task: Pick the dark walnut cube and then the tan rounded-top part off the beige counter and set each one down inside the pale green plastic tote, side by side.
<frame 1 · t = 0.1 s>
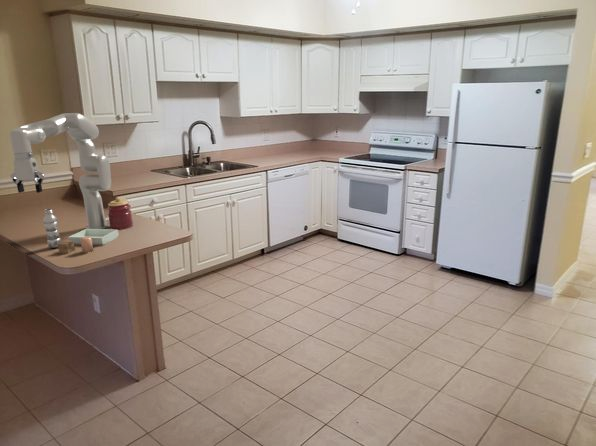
hand: (30, 192, 221), 31 cm above the countertop, fingers open, 9 cm apart
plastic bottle: (55, 247, 238), on the countertop
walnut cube: (67, 251, 231), on the countertop
tote: (94, 240, 247), on the countertop
canister: (121, 227, 272), on the countertop
tan rounded-top part: (88, 251, 230), on the countertop
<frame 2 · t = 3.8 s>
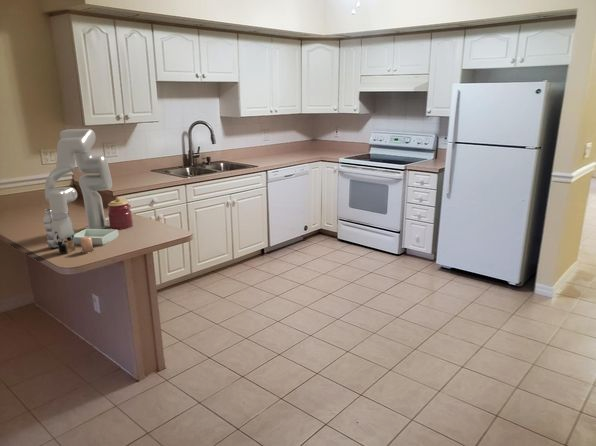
hand: (67, 250, 231), 0 cm above the countertop, fingers closed on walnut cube, 5 cm apart
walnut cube: (67, 251, 231), on the countertop, touching gripper
everything else where it was.
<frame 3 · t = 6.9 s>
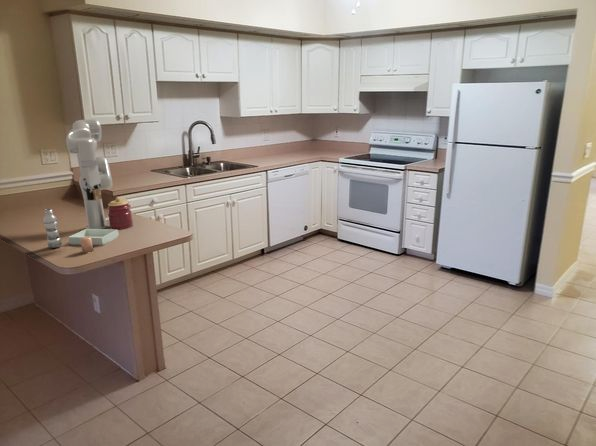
hand: (94, 198, 240), 23 cm above the countertop, fingers closed on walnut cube, 5 cm apart
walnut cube: (94, 199, 240), point 23 cm above the countertop, touching gripper
everything else where it was.
when the fingers open (3 cm above the countertop, at t = 10.3 s): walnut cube drops 2 cm, resting on tote.
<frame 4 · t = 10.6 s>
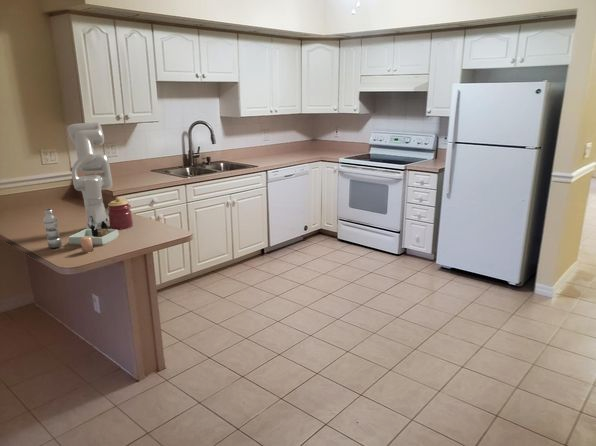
hand: (100, 233, 245), 4 cm above the countertop, fingers open, 7 cm apart
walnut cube: (101, 239, 246), point 1 cm above the countertop, touching tote
everything else where it was.
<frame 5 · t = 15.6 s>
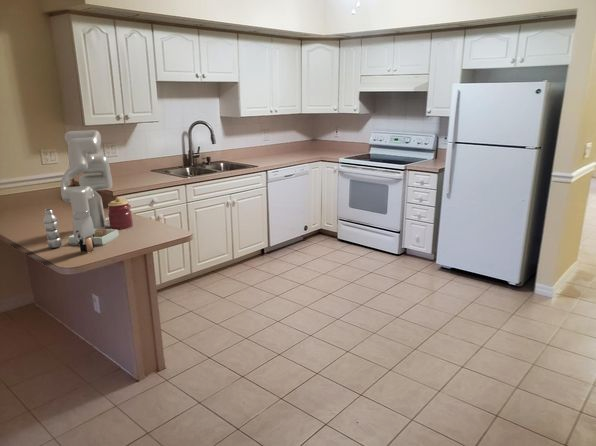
hand: (87, 249, 229), 1 cm above the countertop, fingers closed on tan rounded-top part, 5 cm apart
tan rounded-top part: (88, 251, 230), on the countertop, touching gripper
everything else where it was.
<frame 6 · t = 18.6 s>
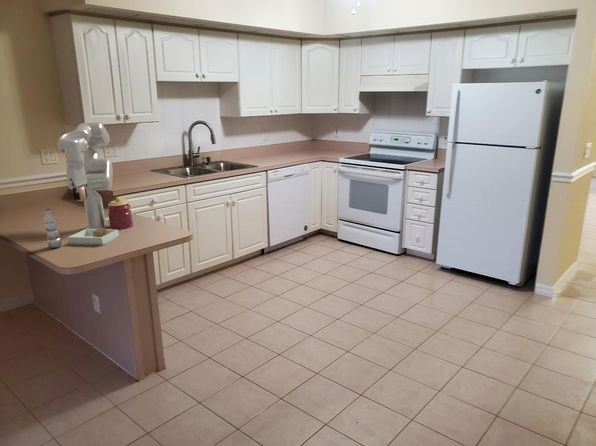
hand: (80, 198, 242), 23 cm above the countertop, fingers closed on tan rounded-top part, 5 cm apart
tan rounded-top part: (81, 200, 242), point 22 cm above the countertop, touching gripper
everything else where it was.
when the fingers open (3 cm above the countertop, at t = 22.0 s): tan rounded-top part drops 2 cm, resting on tote.
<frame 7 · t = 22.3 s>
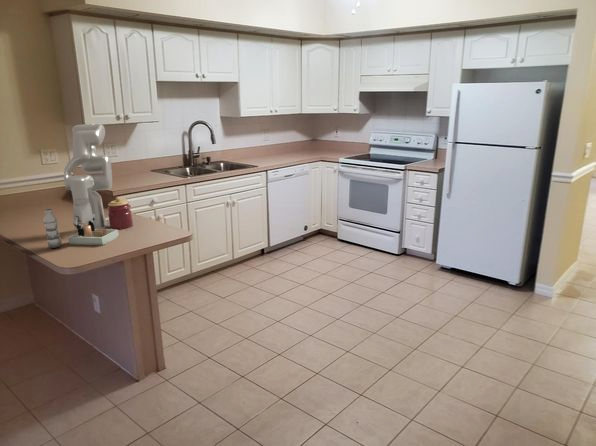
hand: (86, 233, 247), 4 cm above the countertop, fingers open, 8 cm apart
tan rounded-top part: (87, 238, 248), point 1 cm above the countertop, touching tote
everything else where it was.
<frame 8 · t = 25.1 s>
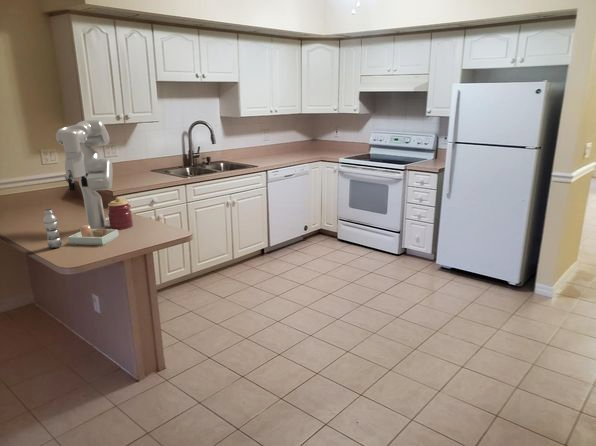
hand: (79, 188, 240), 28 cm above the countertop, fingers open, 9 cm apart
nothing on the countertop moved.
at the end: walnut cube inside the target area on the tote (4.0 cm from its centre), point 0.8 cm above the tote's base; tan rounded-top part inside the target area on the tote (4.0 cm from its centre), point 0.9 cm above the tote's base; the gripper is holding nothing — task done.
